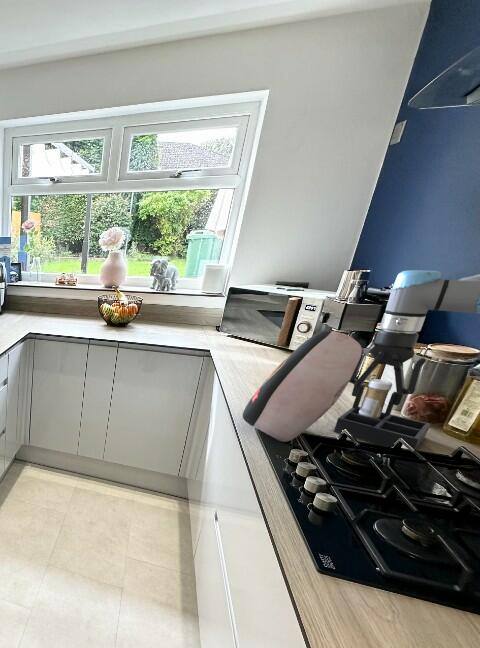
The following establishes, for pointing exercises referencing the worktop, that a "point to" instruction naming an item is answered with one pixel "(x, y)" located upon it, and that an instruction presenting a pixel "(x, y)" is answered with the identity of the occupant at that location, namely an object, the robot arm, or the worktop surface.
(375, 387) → the sprinkles bottle
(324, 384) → the pinkish grey rounded block
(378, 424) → the grid
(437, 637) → the worktop surface
